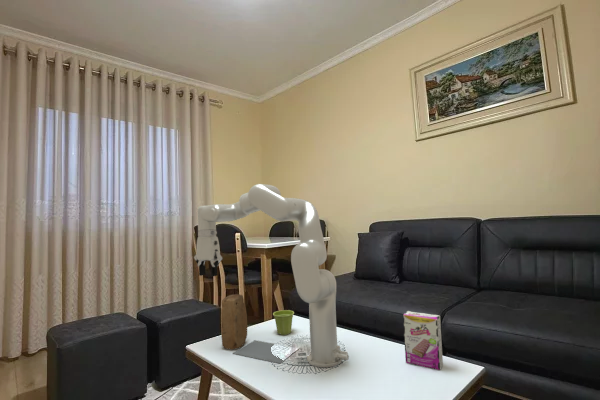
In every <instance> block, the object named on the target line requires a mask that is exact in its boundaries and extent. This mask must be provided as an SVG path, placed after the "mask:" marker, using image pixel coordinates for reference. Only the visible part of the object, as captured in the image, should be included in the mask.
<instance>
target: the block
mask: <svg viewBox="0 0 600 400" xmlns="http://www.w3.org/2000/svg"><path fill="white" fill-rule="evenodd" d="M220 324H221V326H220V327H221V328H220V329H221V330H220V331H221V333H220V334H221V346H222V347H223V348H224V349H226V350H232V351H233V350H239V349H240V348H242V347H244V346H245V345H244V344H245V343H246V340H247V337H248V315H247V308H246V304H245V301H244V296H243V294H230V295H228V296H225V297H224V298H223V299H222V300H221V311H220Z"/></svg>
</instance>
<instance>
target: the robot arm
mask: <svg viewBox="0 0 600 400" xmlns="http://www.w3.org/2000/svg"><path fill="white" fill-rule="evenodd" d="M259 211H260V212H263V214H266V215H267V216H269V217H271V218H272V219H275V220H276V221H280V222H290V221H296V222H298V227H297V229H298V231H297V232H298V236H299V241H300V242H299V243H297V244H296V245H294V247H293V248H292V250H291V255H290V262H291V268H292V273H293V278H294V279H293V280H294V282H295V283H294V284H295V287H296V291H297V294H298V296H299V297H300V299H301V300H302V301H303V302H305V303H308V306H309V307H308V311H309V312H308V313H309V314H308V317H309V318H308V319H309V339H310V353H311V354H310V355H309V356H306V362H307V361H308V362H309V363H308V362H307V363H308V364H309V365H310V366H313V367H317V368H331V367H335V366H338V365H340V364H341V363H342V362H343V361H348V360H349V357H350V356H349V353H348V351H345V350H341V345H338V334H337V333H338V332H337V311H336V309H337V308H336V305H337V304H336V301H337V300H336V297H337V280H336V276H335V275H334V274H333V272H331V271H330V270H328V269H323V268H321V269H320V267H319V266H321V265H323V264H324V263H325V262H326V261H327V257H328V252H327V248H326V244H325V238H324V235H323V231H322V227H321V226H322V225H321V221H320V216H319V213H318V210H317V207H316V206H314V204H313V203H312V202H310V201H308V200H305V199H302V198H297V197H296V198H295V197H283V196H282V193H281V190H280V189H279V188H278V187H277V186H275V185H272V184H264V183H263V184H262V183H257V184H254V185H252V186H251V187H250V189H249V190H248V192H246V193H242V194H241V195H240V197H239V200H238V201H237V202H234V203H229V204H224V203H220V204H219V203H216V204H215V203H214V204H210V205H200V206H198V208H197V236H198V237H197V239H196V254H195V255H194V256H193V259H194V260H195V262H196V264H197V267H198V276H200V277H201V276H205V275H206V273H207V272H206V265H205V262H206V261H209V262H210V265H211V267H210V276H211V277H212V278H213V277H216V276H218V266H220V263H221V261H222V260H223V256H222V255H221V251H220V247H221V246H220V242H219V237H218V236H217V234H218V231H217V226H216V225H217V224H216V223H223V222H224V223H225V222H234V221H237V220H240V219H243V218H246V217H248V216H249V215H250V214H253V213H257V212H259Z"/></svg>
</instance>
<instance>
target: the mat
mask: <svg viewBox="0 0 600 400" xmlns="http://www.w3.org/2000/svg"><path fill="white" fill-rule="evenodd" d="M274 344H275V343H273V342H266V341H261V340H256V339H255V340H253V341H251V342H249V343H248V344H246V345H243V346H242V347H240V348H238V349H236V350H235V351H234V352H232V355H236V356H241V357H246V358H250V359H255V360H260V361H265V362H269V363H270V362H271V363H275V364H278V365H281V364H282V363H283V362H284V361H283V360H282V359H280V358H279V357H278V356H277V357H278V358H277V357H276V356H274V355H273V354H272V352H271V347H272V346H273V345H274ZM282 361H283V362H282Z"/></svg>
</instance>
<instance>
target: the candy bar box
mask: <svg viewBox="0 0 600 400" xmlns="http://www.w3.org/2000/svg"><path fill="white" fill-rule="evenodd" d="M402 317H403V320H402V321H403V337H404V354H405V355H404V356H405V357H404V358H405V364H410V365H414V366H418V367H422V368H423V367H424V368H428V369H432V370H437V371H441V369H442V367H443V365H444V358H443V346H442V345H443V342H442V327H441V326H442V324H441V323H442V322H441V316H440V314H439V315H438V314H430V313H424V312H416V311H410V310H407V311H405V312H404V313H403V316H402Z"/></svg>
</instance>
